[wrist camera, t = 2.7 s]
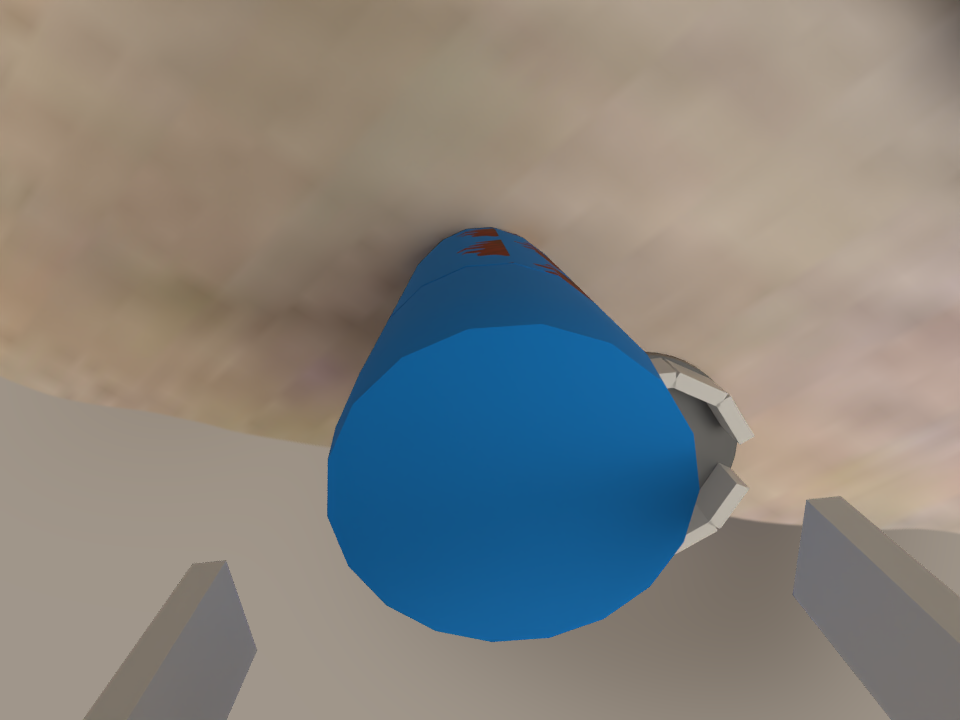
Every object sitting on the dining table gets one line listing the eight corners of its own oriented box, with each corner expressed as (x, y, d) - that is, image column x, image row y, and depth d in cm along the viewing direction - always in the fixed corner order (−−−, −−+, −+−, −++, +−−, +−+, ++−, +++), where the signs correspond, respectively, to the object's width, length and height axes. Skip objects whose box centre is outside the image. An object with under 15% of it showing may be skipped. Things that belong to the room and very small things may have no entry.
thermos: (480, 392, 40) (501, 696, 17) (381, 298, 37) (237, 503, 14) (584, 299, 38) (781, 502, 14) (487, 191, 35) (531, 220, 11)
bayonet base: (522, 363, 39) (528, 383, 36) (738, 341, 39) (767, 358, 35) (535, 539, 45) (542, 572, 41) (724, 520, 45) (747, 551, 41)
